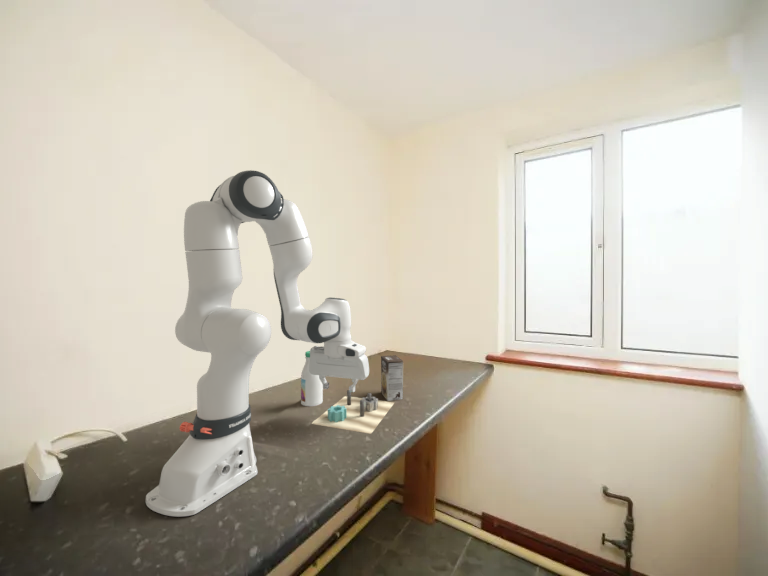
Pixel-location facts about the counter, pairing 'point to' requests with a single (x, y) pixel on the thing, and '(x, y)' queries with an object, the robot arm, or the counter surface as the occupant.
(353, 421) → the peg board
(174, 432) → the counter surface
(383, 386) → the coffee box
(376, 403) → the grey gear
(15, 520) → the counter surface
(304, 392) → the milk bottle
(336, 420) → the teal gear
